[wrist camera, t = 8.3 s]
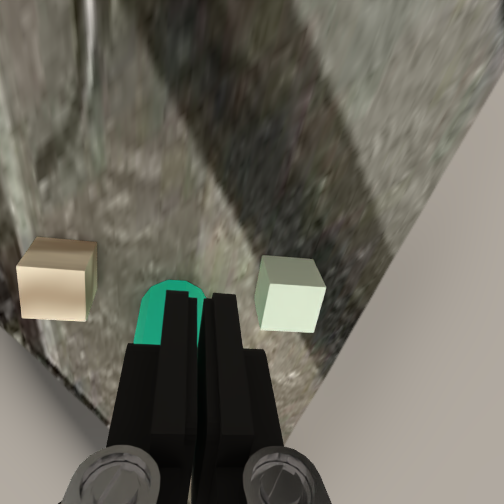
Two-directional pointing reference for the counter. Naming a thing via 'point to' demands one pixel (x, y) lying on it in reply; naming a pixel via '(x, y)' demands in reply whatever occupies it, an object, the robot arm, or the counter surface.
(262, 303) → the sage block
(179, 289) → the candle
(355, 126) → the counter surface
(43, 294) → the birch block
